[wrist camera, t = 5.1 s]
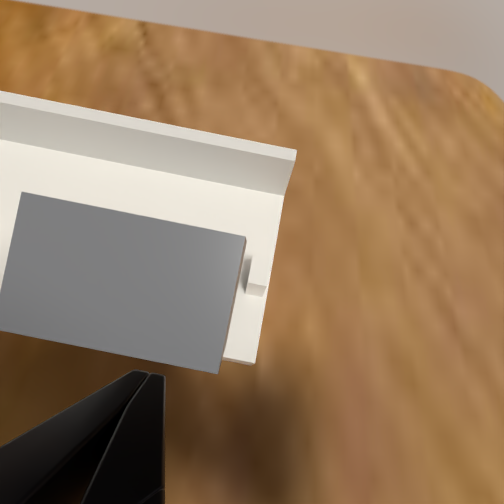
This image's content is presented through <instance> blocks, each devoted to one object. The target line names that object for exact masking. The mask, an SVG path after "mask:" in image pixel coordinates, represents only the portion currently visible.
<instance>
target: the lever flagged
mask: <svg viewBox="0 0 504 504" xmlns="http://www.w3.org/2000/svg"><path fill="white" fill-rule="evenodd" d="M246 243H247V240H246V236H241V235H236V234H231V233H226V232H221V231H216V230H211V229H206V228H201V227H196V226H191V225H186V224H181V223H176V222H171V221H166V220H161V219H156V218H152V217H147V216H142V215H137V214H132V213H127V212H122V211H117V210H112V209H107V208H102V207H97V206H92V205H87V204H82V203H77V202H72V201H67V200H62V199H57V198H52V197H47V196H42V195H37V194H32V193H27V192H21V196H20V201H19V206H18V210H17V215H16V220H15V225H14V229H13V234H12V239H11V243H10V248H9V253H8V257H7V262H6V267H5V271H4V276H3V281H2V286H1V290H0V331H5V332H10V333H15V334H20V335H25V336H30V337H35V338H40V339H45V340H50V341H55V342H60V343H65V344H70V345H75V346H80V347H85V348H90V349H95V350H100V351H105V352H110V353H115V354H120V355H125V356H130V357H135V358H140V359H145V360H150V361H155V362H160V363H165V364H170V365H175V366H180V367H185V368H189V369H194V370H199V371H204V372H209V373H214V374H218V372H219V368H220V365H221V361H222V358H223V354H224V351H225V347H226V343H227V338H228V333H229V328H230V323H231V318H232V313H233V308H234V303H235V298H236V293H237V288H238V283H239V278H240V273H241V268H242V263H243V258H244V253H245V248H246Z"/></svg>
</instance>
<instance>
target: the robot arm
mask: <svg viewBox="0 0 504 504" xmlns="http://www.w3.org/2000/svg"><path fill="white" fill-rule="evenodd" d="M165 389H166V378H165V376H164V375H162V374H157V373H150V374H149V373H148V372H147V371H142V370H137V369H135V370H132V371H130V372H129V373H127V374H125V375H124V376H122V377H120V378H118V379H117V380H115V381H113V382H111V383H110V384H108V385H106V386H105V387H103V388H101V389H99V390H98V391H96V392H94V393H92V394H91V395H89V396H87V397H86V398H84V399H82V400H80V401H79V402H77V403H75V404H73V405H72V406H70V407H68V408H67V409H65V410H63V411H61V412H60V413H58V414H56V415H55V416H53V417H51V418H49V419H48V420H46V421H44V422H42V423H41V424H39V425H37V426H36V427H34V428H32V429H30V430H29V431H27V432H25V433H23V434H22V435H20V436H18V437H17V438H15V439H13V440H11V441H10V442H8V443H6V444H4V445H3V446H1V447H0V504H165Z"/></svg>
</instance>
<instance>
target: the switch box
mask: <svg viewBox="0 0 504 504" xmlns="http://www.w3.org/2000/svg"><path fill="white" fill-rule="evenodd" d="M296 153H297V150H294V149H289V148H284V147H279V146H274V145H269V144H264V143H259V142H254V141H249V140H244V139H239V138H234V137H229V136H224V135H219V134H214V133H209V132H204V131H199V130H194V129H189V128H184V127H179V126H174V125H169V124H164V123H159V122H154V121H149V120H144V119H139V118H134V117H129V116H124V115H119V114H114V113H109V112H104V111H99V110H94V109H89V108H84V107H79V106H74V105H69V104H64V103H59V102H54V101H49V100H44V99H39V98H34V97H29V96H24V95H19V94H14V93H9V92H4V91H0V290H1V286H2V281H3V276H4V271H5V267H6V262H7V257H8V253H9V248H10V243H11V239H12V234H13V229H14V225H15V220H16V215H17V210H18V206H19V201H20V196H21V192H27V193H32V194H37V195H42V196H47V197H52V198H57V199H62V200H67V201H72V202H77V203H82V204H87V205H92V206H97V207H102V208H107V209H112V210H117V211H122V212H127V213H132V214H137V215H142V216H147V217H152V218H156V219H161V220H166V221H171V222H176V223H181V224H186V225H191V226H196V227H201V228H206V229H211V230H216V231H221V232H226V233H231V234H236V235H241V236H246V240H247V243H246V248H245V253H244V258H243V263H242V268H241V273H240V278H239V283H238V288H237V293H236V298H235V303H234V308H233V313H232V318H231V323H230V328H229V333H228V338H227V343H226V347H225V351H224V354H223V358H222V360H225V361H230V362H235V363H240V364H245V365H252V364H254V363H255V360H256V354H257V349H258V343H259V337H260V332H261V326H262V320H263V314H264V309H265V303H266V297H267V291H268V286H269V280H270V274H271V269H272V263H273V257H274V251H275V246H276V240H277V234H278V228H279V223H280V217H281V211H282V206H283V200H284V195H285V192H286V189H287V185H288V182H289V179H290V176H291V173H292V169H293V166H294V163H295V159H296Z"/></svg>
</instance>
